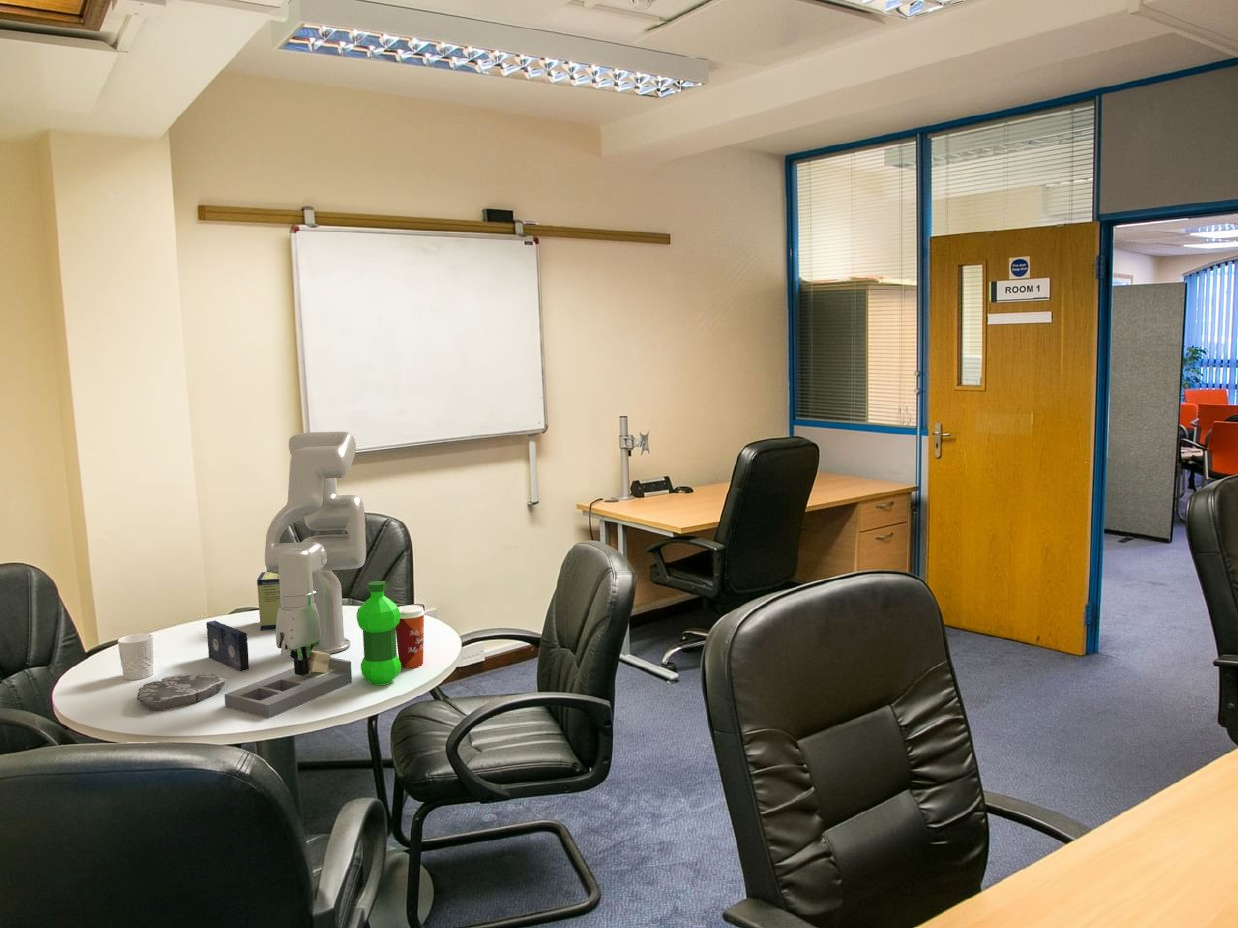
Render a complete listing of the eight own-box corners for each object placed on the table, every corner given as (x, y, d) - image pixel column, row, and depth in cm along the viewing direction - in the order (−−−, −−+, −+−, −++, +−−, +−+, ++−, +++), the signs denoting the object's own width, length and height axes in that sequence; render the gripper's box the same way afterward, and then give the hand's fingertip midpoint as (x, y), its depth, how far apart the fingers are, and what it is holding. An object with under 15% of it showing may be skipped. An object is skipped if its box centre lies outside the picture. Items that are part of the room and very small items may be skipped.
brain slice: (196, 679, 235) (195, 668, 234) (235, 692, 225) (234, 680, 225) (118, 704, 219) (117, 691, 219) (156, 719, 209) (155, 706, 209)
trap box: (225, 706, 215) (223, 683, 214) (309, 673, 236) (308, 652, 236) (269, 718, 208) (267, 694, 207) (352, 682, 229) (350, 661, 228)
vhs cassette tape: (250, 669, 241) (247, 632, 239) (238, 672, 239) (236, 635, 237) (219, 655, 253) (216, 619, 252) (208, 657, 251) (205, 622, 250)
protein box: (264, 621, 285) (260, 571, 283) (317, 616, 289) (314, 568, 287) (259, 630, 275) (255, 579, 273) (314, 626, 278) (311, 575, 277)
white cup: (162, 672, 240) (159, 634, 239) (137, 682, 233) (134, 643, 231) (139, 669, 243) (135, 632, 241) (113, 679, 235) (110, 641, 234)
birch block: (300, 668, 227) (304, 649, 228) (315, 669, 230) (319, 651, 231) (311, 671, 224) (316, 653, 225) (326, 672, 228) (330, 654, 229)
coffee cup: (419, 670, 237) (416, 613, 235) (389, 669, 239) (386, 612, 237) (432, 659, 245) (430, 604, 243) (403, 658, 247) (400, 603, 245)
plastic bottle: (381, 691, 223) (376, 590, 220) (351, 683, 228) (345, 584, 225) (411, 678, 231) (407, 580, 228) (381, 671, 237) (376, 576, 234)
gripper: (310, 591, 231) (314, 662, 233) (260, 605, 218) (265, 681, 220) (332, 594, 227) (336, 667, 229) (282, 609, 214) (287, 686, 216)
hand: (301, 673), depth 224 cm, fingers closed
